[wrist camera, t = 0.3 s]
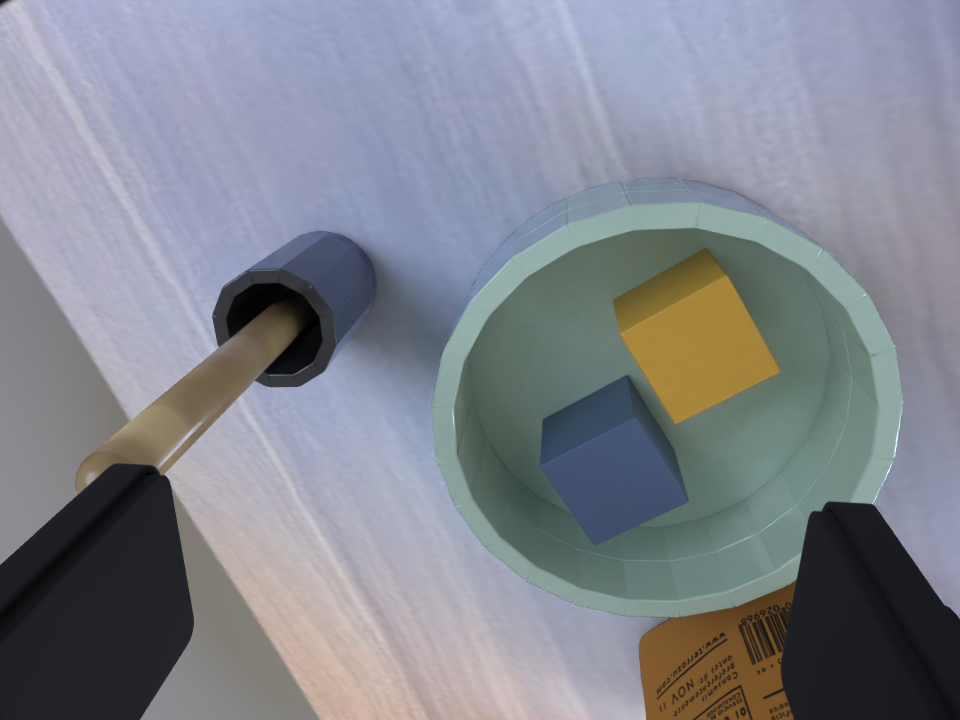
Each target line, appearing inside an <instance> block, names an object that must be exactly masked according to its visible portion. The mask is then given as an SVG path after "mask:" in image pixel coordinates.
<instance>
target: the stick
mask: <svg viewBox="0 0 960 720" xmlns="http://www.w3.org/2000/svg"><path fill="white" fill-rule="evenodd" d="M317 316H318V314H317V313H316V312H315V310H314V309H313V308H312V306H311V305H310V304H309V302H308V301H307V299H306V298H305V297H304V295H302V294H300V293H298V292H296V291H294V290H292V289H290V290H288V291H287V292H286V293H285V294H283V295H282V296H281V297H280V298H279V299H277V300H276V301H275V302H274V303H273V304H271V305H270V306H269V307H268V308H267V309H265V310H264V311H263V312H262V313H261V314H259V315H258V316H257V317H256V318H255V319H253V320H252V321H251V322H250V323H248V324H247V325H246V326H245V327H244V328H242V329H241V330H240V331H239V332H238V333H236V334H235V335H234V336H233V337H232V338H230V339H229V340H228V341H227V342H226V343H224V344H223V345H222V346H221V347H220V348H218V349H217V350H216V351H215V352H213V353H212V354H211V355H210V356H209V357H207V358H206V359H205V360H204V361H203V362H201V363H200V364H199V365H198V366H197V367H195V368H194V369H193V370H192V371H191V372H189V373H188V374H187V375H186V376H185V377H183V378H182V379H181V380H180V381H178V382H177V383H176V384H175V385H174V386H172V387H171V388H170V389H169V390H168V391H166V392H165V393H164V394H163V395H162V396H160V397H159V398H158V399H157V400H156V401H154V402H153V403H152V404H151V405H150V406H148V407H147V408H146V409H145V410H143V411H142V412H141V413H140V414H139V415H137V416H136V417H135V418H134V419H133V420H131V421H130V422H129V423H128V424H127V425H125V426H124V427H123V428H122V429H121V430H119V431H118V432H117V433H116V434H115V435H113V436H112V437H111V438H110V439H108V440H107V441H106V442H105V443H104V444H102V445H101V446H100V447H99V448H98V449H96V450H95V451H94V452H93V453H92V454H90V455H89V456H88V457H87V458H86V459H85V460H84V461H83V462H82V464H81V465H80V467H79V469H78V471H77V474H76V481H75V485H76V490H77V493H78V494H79V493H80V492H82V491H83V490H84V489H85V488H86V487H87V486H88V485H89V484H90V483H91V482H93V481H94V480H95V479H96V478H97V477H98V476H99V475H100V474H101V473H103V472H104V471H105V470H106V469H107V468H108V467H109V466H111V465H113V464H116V463H123V464H142V465H153V466H155V467H156V468H157V469H158V471H159V472H160V475H163V474H164V473H165V472H166V471H167V470H168V469H169V468H170V467H171V466H172V465H173V464H174V463H175V462H176V461H177V460H178V459H179V458H180V457H181V456H182V455H183V454H184V453H185V452H186V451H187V450H188V449H189V448H190V447H191V446H192V445H193V444H194V443H195V441H196V440H197V439H198V438H199V437H200V436H201V435H202V434H203V433H204V432H205V431H206V430H207V429H208V428H209V427H210V426H211V425H212V424H213V423H214V422H215V421H216V420H217V419H218V418H219V417H220V416H221V415H222V414H223V413H224V412H225V411H226V410H227V409H228V408H229V406H230V405H231V404H232V403H233V402H234V401H235V400H236V399H237V398H238V397H239V396H240V395H241V394H242V393H243V392H244V391H245V390H246V389H247V388H248V387H249V386H250V385H251V384H252V383H253V382H254V381H255V380H256V379H257V378H258V377H259V376H260V375H261V374H262V373H263V371H264V370H265V369H266V368H267V367H268V366H269V365H270V364H271V363H272V362H273V361H274V360H275V359H276V358H277V357H278V356H279V355H280V354H281V353H282V352H283V351H284V350H285V349H286V348H287V347H288V346H289V345H290V344H291V343H292V342H293V341H294V340H295V339H296V338H297V337H298V335H299V334H300V333H301V332H302V331H303V330H304V329H305V328H306V327H307V326H308V325H309V324H310V323H311V322H312V321H313V320H314V319H315V318H316V317H317Z"/></svg>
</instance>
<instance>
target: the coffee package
mask: <svg viewBox="0 0 960 720" xmlns="http://www.w3.org/2000/svg"><path fill="white" fill-rule="evenodd" d="M796 580H797V579H796ZM796 580H795V581H794V582H792V583H791V584H789V585H787V586H786V587H783V588H781V589H779V590H776V591H774V592H771V593H769V594H767V595H764V596H762V597H759V598H757V599H755V600H752V601H750V602H747V603H745V604H743V605H740V606H738V607H735V606H734V607H733V608H728V609H723V610H718V611H712V612H707V613H701V614H696V615H691V616H685V617H681V616H680V617H679V618H673V617H671V618H670V619H668V620H667V621H665V622H663V623H662V624H660V625H658V626H656V627H655V628H653V629H652V630H650V631H649V632H647V633H646V634H645V635H644V636H643V637H642V638H641V640H640V642H639V659H640V670H641V680H642V686H643V692H644V701H645V710H646V720H794V718H793V715H792V712H791V709H790V706H789V703H788V701H787V698H786V695H785V692H784V689H783V685H782V680H781V658H782V653H783V648H784V643H785V637H786V632H787V627H788V622H789V617H790V611H791V606H792V601H793V596H794V590H795V585H796Z"/></svg>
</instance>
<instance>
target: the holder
mask: <svg viewBox="0 0 960 720" xmlns="http://www.w3.org/2000/svg"><path fill="white" fill-rule="evenodd" d="M290 289H292V290H294V291H296V292H298V293H300V294H302V295H304V297H305V298H306V299H307V301H308V302H309V304H310V305H311V306H312V308H313V309H314V310H315V312H316V313H317V314H318V316H317V317H316V318H315V319H314V320H313V321H312V322H311V323H310V324H309V325H308V326H307V327H306V328H305V329H304V330H303V331H302V332H301V333H300V334H299V335H298V337H297V338H296V339H295V340H294V341H293V342H292V343H291V344H290V345H289V346H288V347H287V348H286V349H285V350H284V351H283V352H282V353H281V354H280V355H279V356H278V357H277V358H276V359H275V360H274V361H273V362H272V363H271V364H270V365H269V366H268V367H267V368H266V369H265V370H264V371H263V373H262V374H261V375H260V376H259V377H258V378H257V379H256V380H255V381H257V382H259V383H261V384H263V385H265V386H267V387H299V386H302V385H304V384H305V383H307V382H308V381H310V380H312V379H313V378H315V377H317V376H318V375H320V374H321V373H323V372H324V371H325V370H326V369H327V368H328V366H329V365H330V364H331V362H332V361H333V360H334V358H335V357H336V356H337V355H338V353H339V352H340V351H341V349H342V348H343V347H344V346H345V344H346V343H347V342H348V340H349V339H350V338H351V337H352V335H353V334H354V333H355V331H356V330H357V329H358V328H359V326H360V325H361V324H362V322H363V321H364V320H365V317H366V315H367V313H368V312H369V311H370V309H371V307H372V305H373V302H374V299H375V295H376V278H375V273H374V270H373V267H372V265H371V263H370V261H369V259H368V257H367V256H366V255H365V253H364V252H363V251H362V250H361V249H360V248H359V247H358V246H357V245H356V244H355V243H353V242H352V241H351V240H349V239H347V238H346V237H344V236H341V235H339V234H336V233H332V232H326V231H316V232H310V233H306V234H302V235H300V236H298V237H296V238H295V239H293V240H292V241H290V242H289V243H287V244H286V245H284V246H283V247H281V248H280V249H278V250H277V251H275V252H274V253H272V254H271V255H269V256H268V257H266V258H264V259H263V260H261V261H260V262H258V263H257V264H255V265H254V266H252V267H251V268H249V269H248V270H246V271H245V272H243V273H242V274H240V275H239V276H237V277H236V278H235V279H233V280H232V281H230V282H229V283H227V284H226V285H224V287H223V288H222V290H221V293H220V295H219V298H218V301H217V303H216V306H215V309H214V311H213V316H212V318H213V323H214V328H215V333H216V339H217V344H218V346H219V348H220V347H221V346H222V345H223V344H224V343H226V342H227V341H228V340H229V339H230V338H232V337H233V336H234V335H235V334H236V333H238V332H239V331H240V330H241V329H242V328H244V327H245V326H246V325H247V324H248V323H250V322H251V321H252V320H253V319H255V318H256V317H257V316H258V315H259V314H261V313H262V312H263V311H264V310H265V309H267V308H268V307H269V306H270V305H271V304H273V303H274V302H275V301H276V300H277V299H279V298H280V297H281V296H282V295H283V294H285V293H286V292H287V291H288V290H290Z"/></svg>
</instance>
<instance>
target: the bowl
mask: <svg viewBox="0 0 960 720" xmlns="http://www.w3.org/2000/svg"><path fill="white" fill-rule="evenodd" d="M704 248H707V249H708V250H709V251H710V253H711V254H712V255H713V256H714V258H715V259H716V260H717V262H718V263H719V264H720V266H721V267H722V268H723V270H724V271H725V272H726V273H727V275H728V276H729V278H730V280H731V281H732V283H733V285H734V287H735V289H736V290H737V292H738V294H739V296H740V298H741V299H742V301H743V303H744V305H745V307H746V308H747V310H748V312H749V314H750V315H751V317H752V319H753V321H754V323H755V324H756V326H757V328H758V330H759V332H760V333H761V335H762V337H763V339H764V341H765V342H766V344H767V346H768V348H769V349H770V351H771V353H772V355H773V357H774V358H775V360H776V362H777V364H778V366H779V367H780V370H781V371H780V372H779V373H778V374H776V375H774V376H772V377H770V378H768V379H766V380H764V381H762V382H760V383H758V384H756V385H754V386H752V387H750V388H748V389H746V390H744V391H742V392H740V393H738V394H736V395H734V396H732V397H730V398H728V399H726V400H724V401H722V402H720V403H718V404H716V405H714V406H712V407H710V408H708V409H706V410H704V411H702V412H700V413H698V414H696V415H694V416H692V417H690V418H688V419H686V420H684V421H682V422H680V423H678V424H674V423H673V421H672V420H671V418H670V416H669V415H668V413H667V412H666V410H665V408H664V407H663V405H662V404H661V402H660V400H659V399H658V397H657V395H656V394H655V392H654V391H653V389H652V387H651V386H650V384H649V382H648V381H647V379H646V378H645V376H644V374H643V373H642V371H641V370H640V368H639V366H638V365H637V363H636V361H635V360H634V358H633V357H632V355H631V353H630V352H629V350H628V348H627V347H626V345H625V344H624V342H623V340H622V339H621V337H620V335H619V330H618V325H617V320H616V315H615V310H614V305H613V300H614V299H616V298H618V297H619V296H621V295H623V294H625V293H626V292H628V291H630V290H632V289H633V288H635V287H637V286H639V285H640V284H642V283H644V282H646V281H648V280H649V279H651V278H653V277H655V276H656V275H658V274H660V273H662V272H663V271H665V270H667V269H669V268H670V267H672V266H674V265H676V264H677V263H679V262H681V261H683V260H684V259H686V258H688V257H690V256H692V255H693V254H695V253H697V252H699V251H700V250H702V249H704ZM625 375H628V376H629V378H630V379H631V381H632V383H633V384H634V386H635V387H636V389H637V391H638V392H639V394H640V396H641V397H642V399H643V400H644V402H645V404H646V405H647V407H648V408H649V410H650V412H651V413H652V415H653V416H654V418H655V420H656V421H657V423H658V424H659V426H660V428H661V429H662V431H663V432H664V434H665V436H666V437H667V439H668V440H669V442H670V444H671V445H672V447H673V448H674V450H675V454H676V457H677V461H678V464H679V468H680V471H681V475H682V478H683V482H684V485H685V489H686V492H687V496H688V499H689V502H688V503H685V504H683V505H681V506H679V507H677V508H675V509H673V510H670V511H668V512H666V513H664V514H662V515H660V516H658V517H655V518H653V519H651V520H649V521H647V522H645V523H643V524H640V525H638V526H636V527H634V528H632V529H630V530H628V531H626V532H623V533H621V534H619V535H617V536H615V537H613V538H611V539H608V540H606V541H604V542H602V543H600V544H598V545H596V546H594V545H593V544H592V542H591V541H590V539H589V538H588V536H587V535H586V533H585V532H584V530H583V529H582V528H581V526H580V525H579V523H578V522H577V520H576V519H575V517H574V516H573V515H572V513H571V512H570V510H569V509H568V507H567V506H566V504H565V503H564V501H563V500H562V499H561V497H560V496H559V494H558V493H557V491H556V490H555V488H554V487H553V485H552V484H551V483H550V481H549V480H548V478H547V477H546V475H545V474H544V472H543V471H542V470H541V468H540V454H541V438H542V422H543V419H545V418H546V417H548V416H550V415H552V414H554V413H556V412H558V411H560V410H561V409H563V408H565V407H567V406H569V405H571V404H573V403H575V402H576V401H578V400H580V399H582V398H584V397H586V396H588V395H590V394H591V393H593V392H595V391H597V390H599V389H601V388H603V387H605V386H606V385H608V384H610V383H612V382H614V381H616V380H618V379H620V378H621V377H623V376H625ZM903 403H904V399H903V393H902V386H901V380H900V373H899V366H898V360H897V353H896V348H895V345H894V343H893V341H892V339H891V337H890V335H889V333H888V331H887V329H886V327H885V325H884V323H883V321H882V319H881V317H880V315H879V313H878V311H877V309H876V307H875V305H874V303H873V301H872V299H871V297H870V295H869V294H868V293H867V291H866V290H865V289H864V288H863V287H862V286H861V285H860V284H859V283H858V282H857V281H856V280H855V279H854V278H853V277H852V276H851V275H850V274H849V273H848V272H847V271H846V270H845V269H844V268H843V267H842V266H841V265H840V264H839V263H838V262H837V261H836V260H835V259H834V258H833V257H832V256H831V254H830V253H829V252H828V251H827V250H825V249H824V248H823V247H821V246H820V245H819V244H817V243H816V242H814V241H813V240H812V239H810V238H809V237H807V236H806V235H805V234H803V233H802V232H801V231H799V230H798V229H796V228H795V227H794V226H792V225H791V224H789V223H788V222H787V221H785V220H784V219H782V218H781V217H779V216H777V215H776V214H774V213H772V212H770V211H768V210H766V209H765V208H763V207H761V206H760V205H758V204H756V203H755V202H753V201H751V200H749V199H746V198H744V197H743V196H741V195H739V194H737V193H734V192H732V191H728V190H725V189H722V188H718V187H715V186H712V185H708V184H705V183H700V182H694V181H687V180H681V179H668V178H643V179H634V180H625V181H618V182H614V183H609V184H605V185H601V186H597V187H593V188H590V189H588V190H585V191H582V192H580V193H577V194H574V195H572V196H569V197H567V198H565V199H563V200H561V201H559V202H557V203H555V204H554V205H552V206H550V207H548V208H546V209H544V210H543V211H541V212H540V213H538V214H537V215H536V216H534V217H533V218H531V219H530V220H529V221H527V222H526V223H524V224H523V225H522V226H520V227H519V228H518V229H517V230H516V231H515V232H514V233H513V234H512V235H511V236H510V237H509V238H508V239H507V240H506V241H505V242H503V243H502V245H501V246H500V247H499V248H498V249H497V251H496V252H495V253H494V254H493V256H492V257H491V258H490V259H489V260H488V262H487V263H486V264H485V265H484V267H482V269H481V271H480V273H479V275H478V277H477V279H476V281H475V282H474V284H473V286H472V288H471V290H470V292H469V294H468V296H467V298H466V300H465V302H464V304H463V306H462V308H461V310H460V312H459V314H458V317H457V319H456V321H455V324H454V326H453V329H452V331H451V333H450V336H449V338H448V341H447V343H446V345H445V348H444V350H443V353H442V356H441V361H440V366H439V371H438V376H437V380H436V385H435V390H434V395H433V400H432V408H431V411H432V422H433V433H434V445H435V456H436V459H437V460H436V461H437V463H438V466H439V468H440V471H441V474H442V476H443V479H444V481H445V484H446V487H447V489H448V492H449V494H450V497H451V499H452V502H453V505H454V506H455V508H456V510H457V511H458V512H459V514H460V515H461V516H462V518H463V519H464V521H465V522H466V523H467V525H468V526H469V527H470V529H471V530H472V531H473V533H474V534H475V535H476V537H477V538H478V539H479V541H480V542H481V544H482V545H483V546H484V547H486V549H487V550H488V551H489V552H491V553H492V554H493V555H494V556H496V557H497V558H498V559H499V560H500V561H502V562H503V563H504V564H505V565H507V566H508V567H509V568H510V569H512V570H513V571H514V572H515V573H516V574H518V575H519V576H520V577H521V578H523V579H524V580H525V579H526V581H527V582H529V583H531V584H533V585H535V586H537V587H539V588H541V589H543V590H545V591H547V592H549V593H551V594H554V595H556V596H558V597H560V598H562V599H564V600H566V601H568V602H570V603H573V604H575V605H579V606H583V607H588V608H592V609H596V610H600V611H604V612H608V613H613V614H617V615H621V616H625V615H626V616H632V617H673V618H679V617H680V616H681V617H685V616H691V615H696V614H701V613H707V612H712V611H718V610H723V609H728V608H733V607H734V606H735V607H738V606H740V605H743V604H745V603H747V602H750V601H752V600H755V599H757V598H759V597H762V596H764V595H767V594H769V593H771V592H774V591H776V590H779V589H781V588H783V587H786V586H787V585H789V584H791V583H792V582H794V581H795V580H796V579H797V575H798V570H799V564H800V559H801V554H802V549H803V543H804V538H805V533H806V528H807V523H808V519H809V515H810V514H811V512H813V511H822V509H823V507H824V505H825V503H827V502H828V501H833V502H852V503H869V504H874V502H875V500H876V498H877V496H878V493H879V491H880V489H881V487H882V485H883V483H884V481H885V479H886V477H887V475H888V473H889V471H890V469H891V466H892V464H893V462H894V458H895V454H896V448H897V442H898V435H899V429H900V423H901V417H902V410H903Z"/></svg>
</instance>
